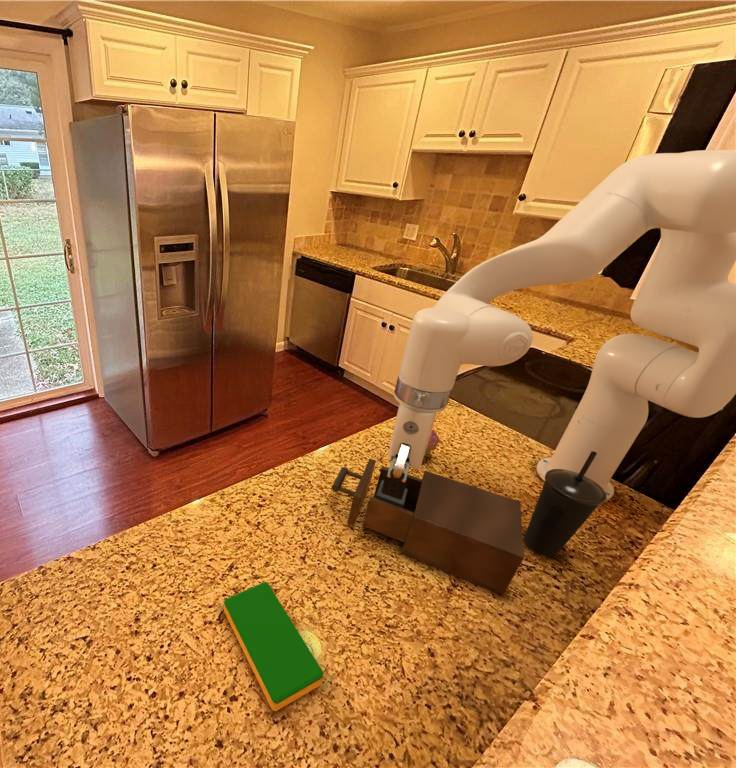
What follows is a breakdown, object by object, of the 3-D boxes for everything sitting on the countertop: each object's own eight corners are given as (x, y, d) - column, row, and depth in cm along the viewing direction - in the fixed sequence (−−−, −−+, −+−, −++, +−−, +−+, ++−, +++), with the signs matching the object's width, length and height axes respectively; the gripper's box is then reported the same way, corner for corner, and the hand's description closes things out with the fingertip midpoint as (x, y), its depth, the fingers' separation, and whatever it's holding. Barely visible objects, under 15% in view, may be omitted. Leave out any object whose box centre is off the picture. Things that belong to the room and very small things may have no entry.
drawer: (323, 514, 74) (328, 485, 71) (341, 477, 83) (347, 450, 79) (429, 558, 66) (441, 528, 63) (437, 512, 75) (448, 484, 72)
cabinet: (401, 553, 68) (413, 516, 64) (413, 505, 78) (424, 470, 74) (502, 595, 62) (524, 557, 58) (502, 537, 71) (520, 501, 67)
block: (376, 498, 76) (381, 479, 74) (402, 507, 74) (408, 488, 72) (371, 513, 73) (376, 494, 71) (397, 524, 71) (403, 505, 69)
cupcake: (438, 453, 92) (454, 407, 86) (424, 471, 86) (440, 424, 80) (400, 437, 97) (412, 393, 91) (385, 453, 91) (397, 407, 86)
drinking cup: (577, 568, 66) (641, 473, 57) (525, 559, 68) (579, 465, 58) (554, 531, 73) (608, 440, 63) (507, 524, 74) (552, 434, 64)
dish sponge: (265, 590, 62) (266, 580, 61) (322, 684, 51) (325, 674, 50) (222, 609, 59) (223, 599, 58) (273, 713, 48) (274, 703, 47)
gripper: (443, 426, 54) (412, 520, 62) (454, 374, 67) (427, 457, 75) (384, 410, 57) (362, 501, 65) (405, 363, 70) (384, 444, 78)
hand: (397, 477), depth 70 cm, fingers open, 9 cm apart
